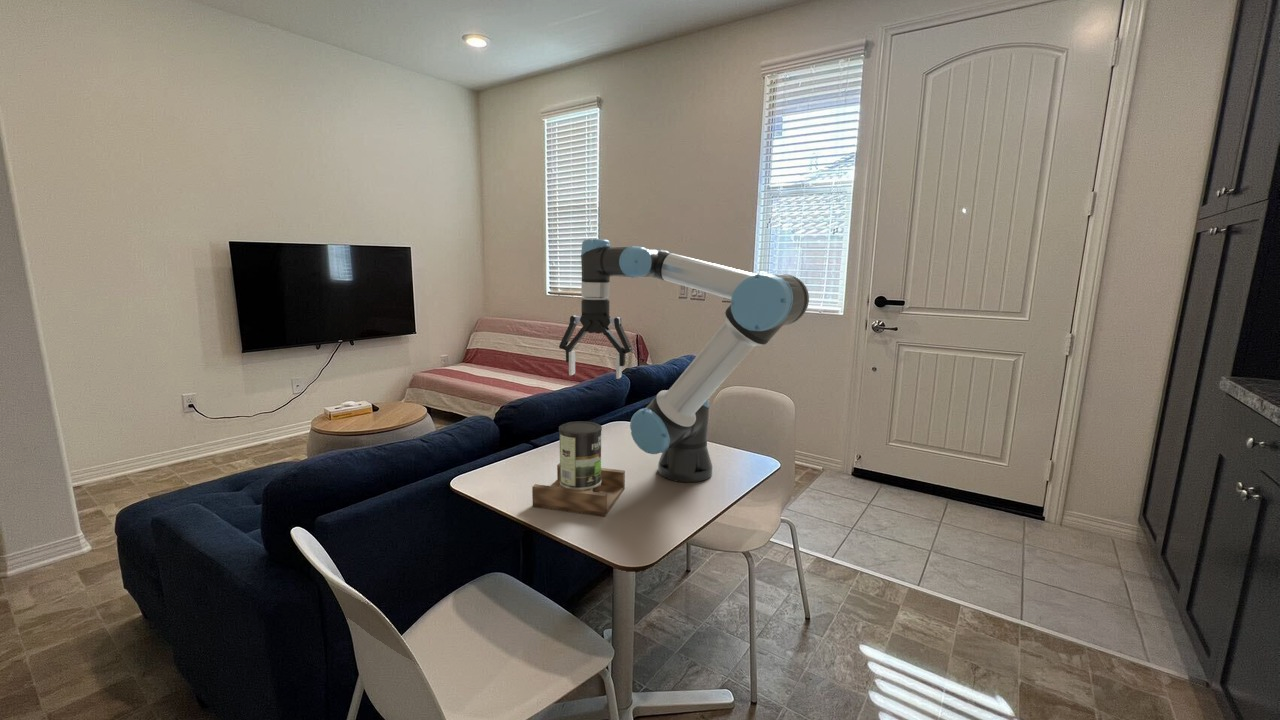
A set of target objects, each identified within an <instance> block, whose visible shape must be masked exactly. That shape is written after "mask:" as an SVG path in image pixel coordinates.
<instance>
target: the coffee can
mask: <svg viewBox="0 0 1280 720" xmlns="http://www.w3.org/2000/svg"><path fill="white" fill-rule="evenodd" d="M602 429H603V426H602V425H601V424H599V423H596V422H594V421H583V420H581V421H580V420H579V421H569V422H566V423H563V424H560V425H559V426H558V431H559V463H560V485H561V486H562V487H564V488H569V489H576V490H588V489H593V488H595V487H597V486H599V485H600V484H601V468H602Z"/></svg>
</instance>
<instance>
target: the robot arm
mask: <svg viewBox="0 0 1280 720" xmlns="http://www.w3.org/2000/svg"><path fill="white" fill-rule="evenodd" d="M580 260H581V261H580V262H581V263H580V265H581V287H580V288H581V290H580V292H581V293H580V295H581V297H582V298H583V299H582V300H581V312H580V313H581V314H580V316H578V315H576V314H575V315H571V316H570V317H569V324H568V326H567V329H566V331H565V332H564V335H563V337H562V339H561V341H560V343H559V346H558V347H559V349H560V350H563V351H565V362H566V364H568V375H569V376H573V375H575V374H576V351H575V350H574V348H575V347H576V345H577V344H578V343H579V342H580V341H581V339H582V338H584V336H585V335H586V334H587V333H589V334H597V335H598V334H603V335H604V336H605V337H606V338H607V340H608V341H609V343H611V345H612V346H613V347H614V349H615V350H616V351H617V352H618V353H617V354H616V357H615V358H616V359H615V363H616V364H615V365H616V366H615V367H616V368H615V369H616V370H615V371H616V372H615V379H617V380H619V379H621V378H622V373H623V367H624V366H626V354H628V353H631V352H632V351H633V347H632V345H631V343H630V341H629V338H628V337H627V334H626V332H625V330H624V328H623V325H622V317H619V316H617V317H612V318H611V316H610V300H609V298H610V290H611V289H610V288H611V287H610V286H611V284H610V283H611V282H610V280H611V279H610V278H611V277H618V278H619V277H620V278H632V279H633V278H653V279H658V280H661V281H664V282H665V281H666V282H669V283H672V284H675V285H680V286H682V287H687V288H690V289H693V290H697V291H700V292H704V293H707V294H711V295H714V296H717V297H720V298H723V299H724V298H725V299H727V300H728V299H729V300H730V304H729V306H728V307H727V309H725V311H724V318H725V321H724V323H723V324H722V325H721V326H720V327H719V329H718V330H717V331H716V332H715V334H713V335H712V337H711V338H710V339H709V340H708V342H707V343H706V344H705V345H704V346H703V348H702V349H701V350H700V352H699V353H698V354H697V355H696V356H695V358H694V359H693V360H692V361H691V362H690V364H689V365H688V366H687V367H686V368H685V369H684V371H683V372H682V373H681V374H680V376H679V377H678V378H677V379H676V380H675V382H674V383H673V384H672V385H671V386H670V387H669V389H667V390H666V389H664V390H663V389H662V390H660V391H659V392H657V394H656V395H655V397H654V398H653V399H652V400H651V401H650V402H649V404H647V406H646V407H643V408H640V409H638V410H637V411H636V412H635V413H634V414H633V415H632V416H631V419H630V423H629V429H630V431H631V432H630V435H631V438H632V439H633V440H632V441H634V443H635V444H636V446H637V447H638V448H639V450H642V451H643V452H644V453H646V454H650V455H658V454H660V453H661V454H660V457H659V460H658V463H657V464H658V465H657V471H658V474H659V475H660V476H661V477H663V478H664V479H667V480H670V481H674V482H678V483H679V482H680V483H697V482H703V481H706V480H708V479H710V478H711V477H712V475H713V463H712V460H711V459H712V458H711V456H710V453H709V448H708V434H709V433H708V431H709V430H708V429H709V413H710V412H709V411H710V406H709V403H710V402H709V400H710V397H711V396H713V394H714V393H715V392H716V391H717V389H718V388H719V387H720V386H721V385H722V384H723V383H724V382H725V380H726V379H727V378H728V377H729V376H730V375H731V374H732V373H733V372H734V370H735V369H736V368H737V367H738V366H739V365H740V363H742V361H744V359H745V358H746V357H747V356H748V355H749V354H750V353H751V351H752V350H753V349H754V348H755V347H756V346H757V347H758V346H761V347H762V346H766V345H767V344H768V343H769V342H770V341H771V339H773V337H774V336H775V335H776V334H777V333H778V332H779V331H780V330H781V329H782V327H783V326H787V325H791V324H793V323H796V322H798V321H799V320H800V319H802V317H803V316H804V314H805V313H806V312H807V309H808V307H809V302H810V295H809V291H808V288H807V286H806V285H805V283H804V282H803V281H802V280H801V279H799V278H798V277H797V276H794V275H792V274H790V273H789V274H787V273H772V272H766V271H760V272H759V273H754V272H749V271H745V270H741V269H736V268H733V267H729V266H726V265H721V264H718V263H712V262H708V261H705V260H701V259H696V258H693V257H689V256H685V255H681V254H677V253H671V252H669V251H668V250H664V249H661V248H660V249H659V248H646V247H643V246H634V245H632V246H614V247H612V246H611V242H610V241H609V240H608V239H600V238H597V239H596V238H594V239H592V238H587V239H584V240H583V241H582V242H581V253H580ZM579 322H580V323H581V325H582V326H581V328H580V329H579V331H578V332H577V334H575V336H574V337H573V339H571V337H572V336H573V333H574V331H575V329H576V327H577V325H578V324H580V323H579ZM610 324H612V326H614V328H615V330H616V333H617V335H618V338H619V340H620V341H619V340H618V339H617V337H616V336H615V334H614V333H613V332H612V330H611V328H610V327H609V326H610ZM570 339H571V341H570Z"/></svg>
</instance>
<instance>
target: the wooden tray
mask: <svg viewBox="0 0 1280 720" xmlns="http://www.w3.org/2000/svg"><path fill="white" fill-rule="evenodd" d="M556 467H557V468H556V470H557V471H556V473H557V474H556V475H557V476H556V477H557V479H556V480H555V481H554V482H553V483H552V484H551V485H544V484H536V483H535V484H533V486H532V488H531V489H532V490H531V492H532V496H531V497H532V507H533V508H541V509H546V510H547V509H548V510H555V511H562V512H568V513H569V512H570V513H576V514H583V515H591V516H598V517H603V518H605V517H606V516H607V515H608V513H609V511H610V510H611V509H612V507H613V506H614V505H615V504H616V502H617V500H619V498H620V497H621V495H622V494H623V492H624V491H625V489H626V487H625V485H626V484H625V482H626V473H625V472H626V470H622V469H613V468H607V467H605V468H604V467H601V484H600V485H599V486H597V487H595V488H593V489H588V490H576V489H569V488H564V487H562V486H561V485H560V462H559V463H557V466H556Z"/></svg>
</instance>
